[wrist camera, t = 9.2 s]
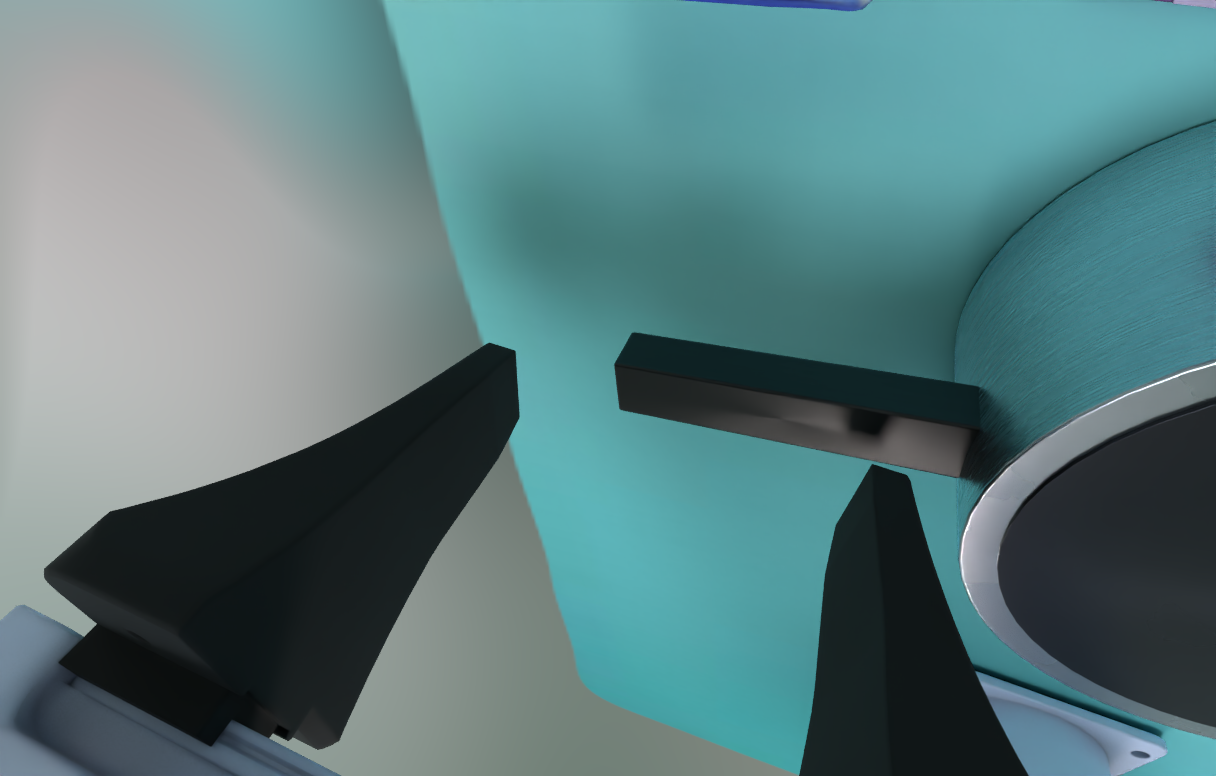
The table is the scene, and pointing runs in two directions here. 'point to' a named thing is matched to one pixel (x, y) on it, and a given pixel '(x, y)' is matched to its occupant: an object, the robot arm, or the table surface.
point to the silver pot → (1043, 430)
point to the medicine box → (800, 3)
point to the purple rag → (1194, 2)
